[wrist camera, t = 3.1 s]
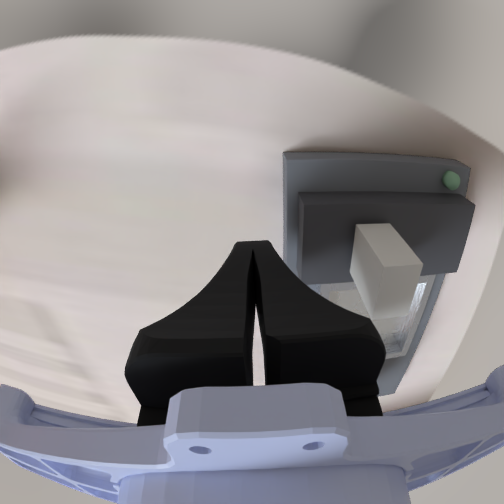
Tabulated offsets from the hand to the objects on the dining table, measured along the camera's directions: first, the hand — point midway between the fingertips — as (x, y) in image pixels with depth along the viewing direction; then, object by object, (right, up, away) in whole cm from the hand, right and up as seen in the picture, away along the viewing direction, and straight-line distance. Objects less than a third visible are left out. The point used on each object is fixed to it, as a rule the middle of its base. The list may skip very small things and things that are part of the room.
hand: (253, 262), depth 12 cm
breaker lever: (+5, +1, 0) cm, 5 cm away
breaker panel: (+7, -3, +6) cm, 10 cm away
